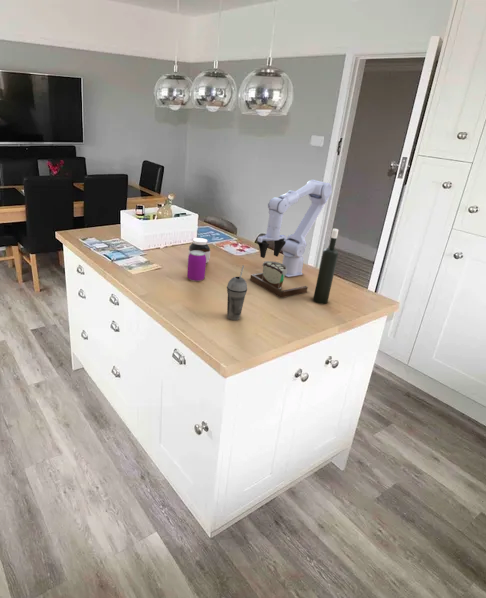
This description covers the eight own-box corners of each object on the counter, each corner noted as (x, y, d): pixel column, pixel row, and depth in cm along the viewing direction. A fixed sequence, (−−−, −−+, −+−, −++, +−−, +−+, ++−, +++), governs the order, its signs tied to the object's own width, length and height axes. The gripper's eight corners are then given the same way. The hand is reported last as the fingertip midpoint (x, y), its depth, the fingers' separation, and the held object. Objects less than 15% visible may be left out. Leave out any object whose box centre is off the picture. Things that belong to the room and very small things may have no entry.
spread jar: (205, 260, 205) (207, 237, 200) (213, 268, 195) (215, 244, 190) (182, 261, 201) (183, 237, 196) (189, 269, 191) (190, 245, 186)
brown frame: (275, 275, 192) (276, 270, 191) (306, 292, 177) (307, 286, 176) (250, 279, 185) (250, 274, 184) (280, 297, 170) (281, 292, 168)
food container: (290, 290, 177) (294, 268, 173) (280, 293, 174) (283, 270, 170) (269, 280, 186) (273, 259, 182) (259, 282, 183) (262, 261, 179)
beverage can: (188, 274, 185) (189, 248, 180) (205, 276, 185) (207, 250, 180) (185, 281, 178) (187, 254, 173) (203, 283, 178) (205, 256, 173)
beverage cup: (222, 312, 153) (227, 261, 145) (241, 313, 154) (248, 262, 146) (224, 321, 147) (231, 268, 138) (245, 322, 147) (252, 269, 139)
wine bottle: (312, 302, 168) (327, 229, 155) (314, 296, 173) (328, 226, 160) (326, 305, 166) (343, 231, 154) (328, 299, 171) (344, 228, 158)
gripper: (280, 223, 185) (275, 252, 190) (255, 224, 178) (250, 255, 183) (291, 227, 180) (286, 257, 185) (265, 229, 172) (260, 260, 178)
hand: (269, 256), depth 184 cm, fingers open, 7 cm apart
